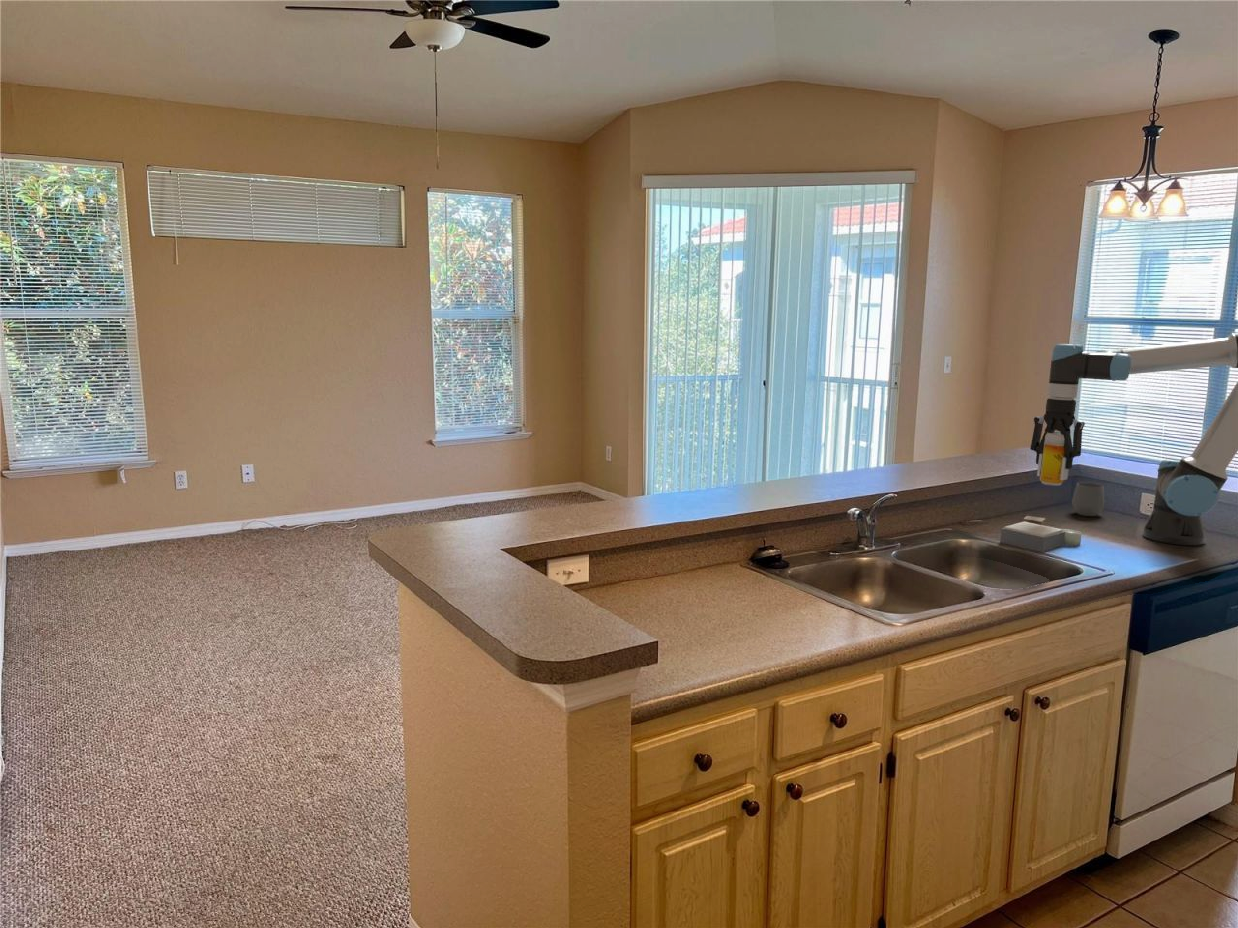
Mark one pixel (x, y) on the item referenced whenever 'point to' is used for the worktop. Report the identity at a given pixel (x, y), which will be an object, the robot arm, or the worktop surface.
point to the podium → (1032, 536)
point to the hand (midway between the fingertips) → (1051, 477)
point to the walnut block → (1034, 520)
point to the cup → (1088, 499)
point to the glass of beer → (1052, 459)
